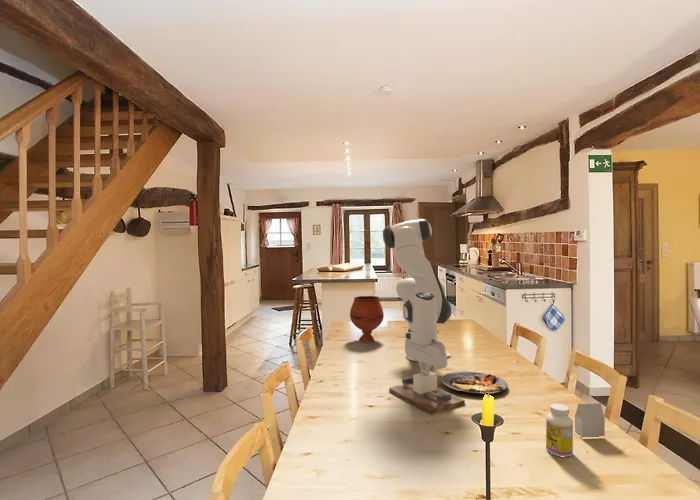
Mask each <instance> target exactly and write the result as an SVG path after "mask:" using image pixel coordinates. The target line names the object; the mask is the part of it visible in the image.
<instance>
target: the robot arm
mask: <svg viewBox="0 0 700 500" xmlns="http://www.w3.org/2000/svg"><path fill="white" fill-rule="evenodd" d="M432 235H433V229H432V226H431V224H430V223H429V221H428V220H427V219H425V218H419V219H412V220H406V221H403V222H399V223H395V224H392V225H386V226H385V227H384V228H383V231H382V241H383V243H384V244H385V247H386V248H388V249H394V254H395V259H396V263H397V265H398V267H399V268H400V269H401V270H403V271H404V272H405V273H406V274H407V275H409V276H410V277H405V278H401V279H399V280H398V282H397V284H396V287H395V289H396V291H395V292H396V293H397V296H398V297H399V298H400V299H401V300H402V301H403V303H404V304H403V305H402V306H403V307H402V308H403V311H402V312H403V314H402V315H403V318H404V319H405V321H406V322H408V329H407V330H408V331H406V332H405V333H404V338H405V340H404V352H405V358H406V359H408V360H409V361H414V362H418V364H419V367H420V373H423V374H425V375H429V374H430V371H431V368H432V367H433V368H436V369H438V370H442V369H446V368H447V366H448V359H447V358H450V357H451V353H450V352H448V351H447V349H446V346H445V343H444V342H443V341H441V340H440V339H439V338H438V334H439V330H438V326H437V324H441V325H444V324H445V323H446V322H447V321H449V320H450V319H451V316H452V308H451V307H452V306H451V304H450V302H449V300H448V299H447V297H446V288H445V285H444V283H443V282H441V281H440V278H439V276H438V273H437V271H436V269H435V266H434V265H433V262H432V261H430V260H429V259H428V258H426V255H425V250H424V246H423V243H426V242H428V241H430V239H431V238H432Z"/></svg>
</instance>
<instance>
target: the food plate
mask: <svg viewBox="0 0 700 500" xmlns="http://www.w3.org/2000/svg"><path fill="white" fill-rule="evenodd" d="M441 382H442V384H443V385H445V386H446V387H448V388H450V389H452V390H456V391H459V392H460V391H462V392H465V393H472V394H477V395H478V394H483V395H494V394H499V393H502V392H504V391H506V390H507V389H508V383H507V382H506V381H505V380H504V379H502V378H501V377H498V376H496V375H492V374H490V373H489V374H488V373H484V372H482V373H481V372H475V371H464V370H463V371H453V372H449V373H446V374H444V375H443V376H442V378H441ZM486 393H488V394H486Z"/></svg>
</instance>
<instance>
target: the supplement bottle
mask: <svg viewBox="0 0 700 500" xmlns="http://www.w3.org/2000/svg"><path fill="white" fill-rule="evenodd" d="M549 407H550V408H549V411H550V412H549V413H547V414H546V418H545V419H546V421H545V422H546V423H545V424H546V425H545V426H546V427H545V429H546V431H545V449H546V451H547V452H548V451H549V452H550V453H549V452H548V453H549V454H551V455H552V454H554V455H556V456H555V457H557V456H564V457H563V458H567V457H566V456H570V455H571V456H573V453H574V452H573V449H574V443H573V442H574V441H573V440H574V434H573V433H574V420H573V419H572V417H571V416H570V415H569V414H570V407H568V405H565V404H561V403H552V404H550V406H549ZM554 455H553V456H554ZM571 456H570V457H571Z"/></svg>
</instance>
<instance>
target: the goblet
mask: <svg viewBox="0 0 700 500" xmlns="http://www.w3.org/2000/svg"><path fill="white" fill-rule="evenodd" d="M384 316H385V314H384V309H383V306H382V303H381V302H380V297H379V296H377V295H376V296H375V295H365V296H364V295H362V296H361V295H360V296H359V295H358V296H355V297H354V298H353V301H352V305H351V307H350V310H349V317H350V320H351V323H352V324H353V325H354V326H355V327H356V328H358V329H359V330H360V331H361V333H362V335H361V336H360V337H359V339H358V341H359V342H362V343H373V342H375V338H374V336H373V335H372V333H373V331H374V330H376V329H377V328H378V327H379V326H380V325H382V322H383V320H384Z"/></svg>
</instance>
